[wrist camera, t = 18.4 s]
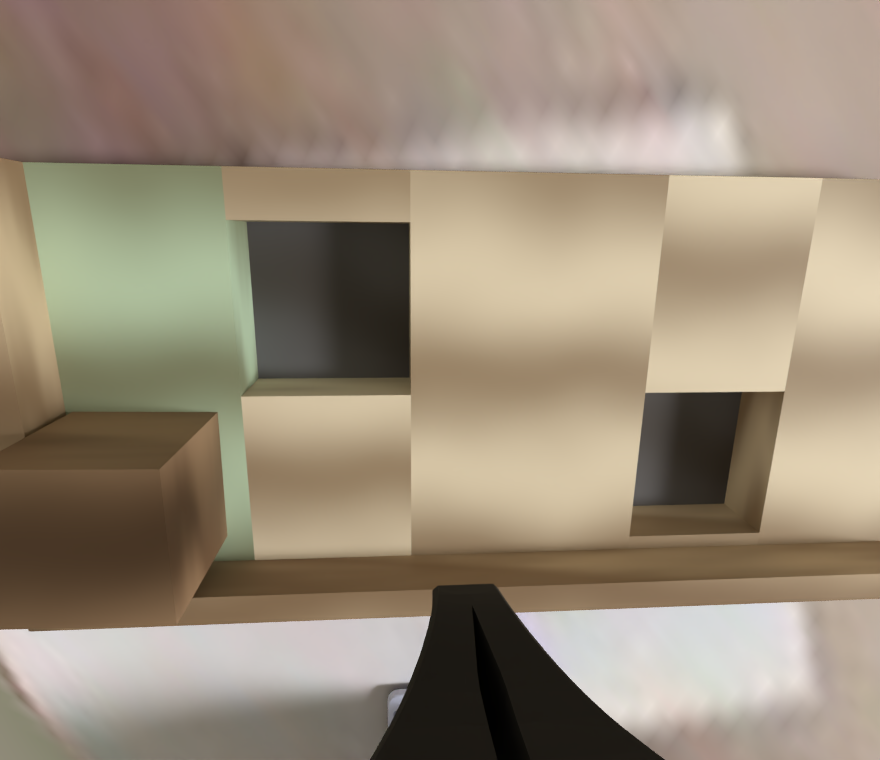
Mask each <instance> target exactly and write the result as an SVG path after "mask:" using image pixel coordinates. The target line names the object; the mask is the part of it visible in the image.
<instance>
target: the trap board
mask: <svg viewBox="0 0 880 760" xmlns="http://www.w3.org/2000/svg"><path fill="white" fill-rule="evenodd" d="M71 412H218V422H219V435H220V447H221V460H222V472H223V485H224V498H225V510H226V523H227V535H228V536H227V538H226V539H225V541H224V543H223V545H222V546H221V548H220V550H219V552H218V554H217V555H216V557H215V559H214V561H213V562H212V564H211V566H210V568H209V569H208V571H207V573H206V575H205V576H204V578H203V580H202V582H201V583H200V585H199V587H198V589H197V590H196V592H195V594H194V596H193V597H192V599H191V601H190V603H189V605H188V606H187V608H186V610H185V612H184V613H183V615H182V617H181V619H180V620H179V622H178V624H177V625H163V626H182V625H208V624H234V623H260V622H286V621H311V620H337V619H363V618H389V617H415V616H431V612H432V590H433V589H434V588H436V587H437V586H438V585H467V584H494V585H495V586H496V587H497V588H498V589H499V591H500V592H501V594H502V595H503V597H504V598H505V600H506V601H507V602H508V604H509V605H510V607H511V608H512V609H513V611H514V612H515V613H518V612H544V611H570V610H596V609H622V608H648V607H674V606H700V605H725V604H751V603H777V602H803V601H829V600H855V599H880V179H838V178H788V177H738V176H688V175H637V174H587V173H537V172H487V171H437V170H386V169H336V168H286V167H236V166H185V165H135V164H85V163H35V162H19V161H13V160H8V159H3V158H0V451H1V450H3V449H5V448H7V447H9V446H10V445H12V444H14V443H16V442H18V441H20V440H21V439H23V438H25V437H27V436H29V435H31V434H33V433H34V432H36V431H38V430H40V429H42V428H44V427H45V426H47V425H49V424H51V423H53V422H55V421H56V420H58V419H60V418H62V417H64V416H66V415H67V414H69V413H71ZM130 627H156V626H123V627H82V628H42V629H28V630H29V631H53V630H79V629H104V628H130Z"/></svg>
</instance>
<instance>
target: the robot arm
mask: <svg viewBox="0 0 880 760" xmlns="http://www.w3.org/2000/svg"><path fill="white" fill-rule="evenodd" d="M396 710H397V711H396ZM370 760H665V759H663V758H662V757H661V756H659V755H658V754H656V753H655V752H654V751H652V750H651V749H650V748H649V747H647V746H646V745H645V744H643V743H642V742H641V741H639V740H638V739H637V738H636V737H634V736H633V735H632V734H630V733H629V732H628V731H627V730H625V729H624V728H623V727H622V726H620V725H619V724H618V723H617V722H616V721H614V720H613V719H612V718H611V717H610V716H608V715H607V714H606V713H605V712H604V711H603V710H602V709H601V708H600V707H599V706H597V705H596V704H595V703H594V702H593V701H592V700H591V699H590V698H589V697H588V696H587V695H586V694H585V693H584V692H583V691H582V690H581V689H580V688H579V687H578V686H577V685H576V684H575V683H574V682H573V681H572V680H571V679H570V678H569V677H568V676H567V675H566V674H565V673H564V672H563V670H562V669H561V668H560V667H559V666H558V665H557V664H556V663H555V662H554V661H553V659H552V658H551V657H550V656H549V655H548V654H547V653H546V651H545V650H544V649H543V648H542V647H541V645H540V644H539V643H538V642H537V640H536V639H535V638H534V637H533V636H532V634H531V633H530V632H529V631H528V629H527V628H526V627H525V626H524V624H523V623H522V622H521V620H520V619H519V618H518V616H517V615H516V614H515V612H514V611H513V609H512V608H511V607H510V605H509V604H508V602H507V601H506V600H505V598H504V597H503V595H502V594H501V592H500V591H499V589H498V588H497V587H496V586H495V585H494V584H467V585H438V586H437V587H436V588H434V589H433V590H432V612H431V617H430V621H429V626H428V630H427V633H426V637H425V640H424V643H423V647H422V650H421V653H420V656H419V659H418V662H417V664H416V667H415V670H414V672H413V675H412V677H411V680H410V682H409V685H408V687H407V689H397V690H394V691H392V692H391V693H390V694H389V696H388V729H387V731H386V733H385V734H384V736H383V738H382V740H381V742H380V743H379V745H378V747H377V749H376V751H375V752H374V754H373V756H372V757H371V759H370Z"/></svg>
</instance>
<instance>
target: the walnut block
mask: <svg viewBox="0 0 880 760" xmlns="http://www.w3.org/2000/svg"><path fill="white" fill-rule="evenodd" d="M227 536H228V535H227V523H226V510H225V498H224V485H223V472H222V460H221V447H220V435H219V422H218V412H71V413H69V414H67V415H66V416H64V417H62V418H60V419H58V420H56V421H55V422H53V423H51V424H49V425H47V426H45V427H44V428H42V429H40V430H38V431H36V432H34V433H33V434H31V435H29V436H27V437H25V438H23V439H21V440H20V441H18V442H16V443H14V444H12V445H10V446H9V447H7V448H5V449H3V450H1V451H0V630H1V629H42V628H82V627H123V626H163V625H177V624H178V622H179V620H180V619H181V617H182V615H183V613H184V612H185V610H186V608H187V606H188V605H189V603H190V601H191V599H192V597H193V596H194V594H195V592H196V590H197V589H198V587H199V585H200V583H201V582H202V580H203V578H204V576H205V575H206V573H207V571H208V569H209V568H210V566H211V564H212V562H213V561H214V559H215V557H216V555H217V554H218V552H219V550H220V548H221V546H222V545H223V543H224V541H225V539H226V538H227Z"/></svg>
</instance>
